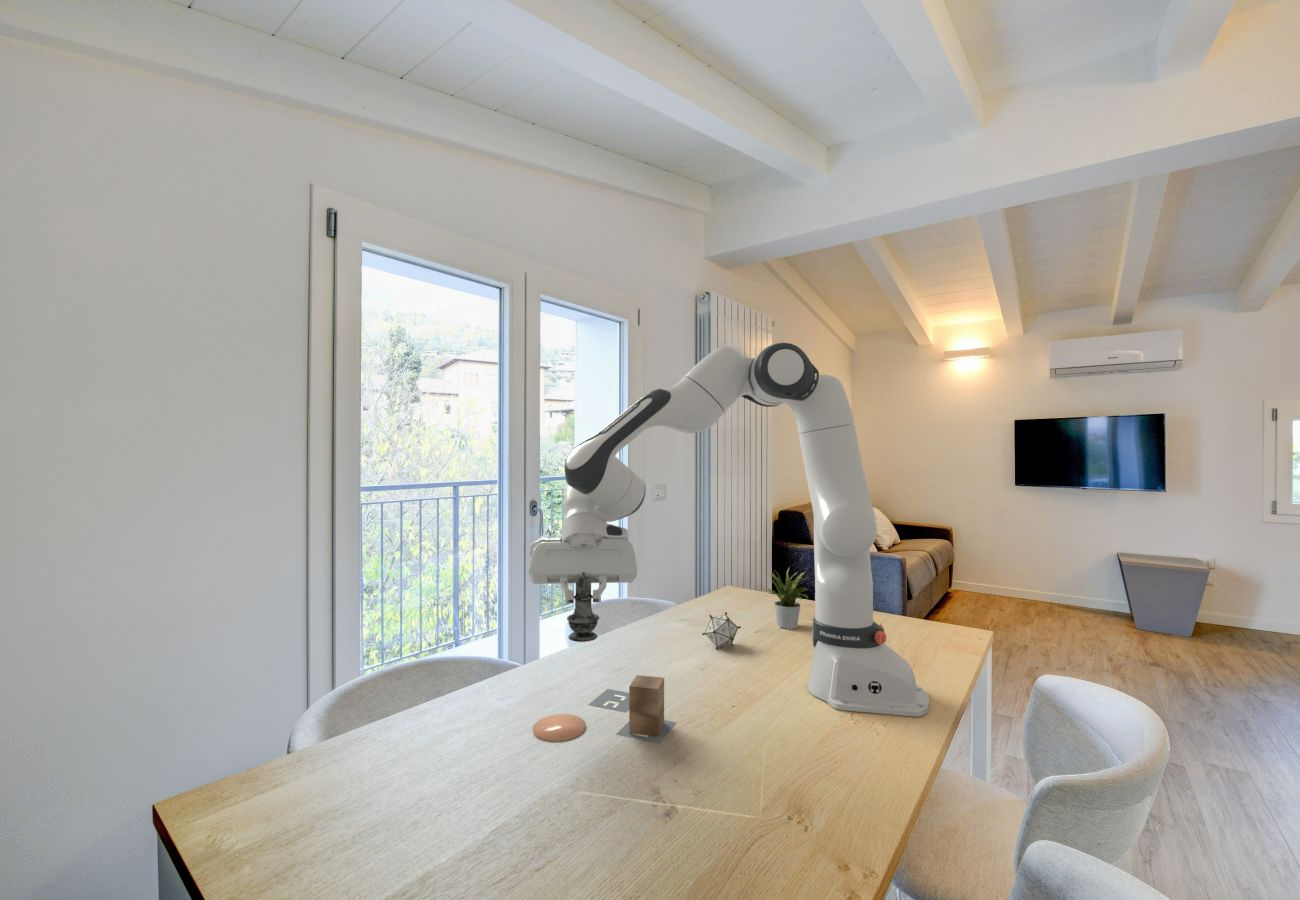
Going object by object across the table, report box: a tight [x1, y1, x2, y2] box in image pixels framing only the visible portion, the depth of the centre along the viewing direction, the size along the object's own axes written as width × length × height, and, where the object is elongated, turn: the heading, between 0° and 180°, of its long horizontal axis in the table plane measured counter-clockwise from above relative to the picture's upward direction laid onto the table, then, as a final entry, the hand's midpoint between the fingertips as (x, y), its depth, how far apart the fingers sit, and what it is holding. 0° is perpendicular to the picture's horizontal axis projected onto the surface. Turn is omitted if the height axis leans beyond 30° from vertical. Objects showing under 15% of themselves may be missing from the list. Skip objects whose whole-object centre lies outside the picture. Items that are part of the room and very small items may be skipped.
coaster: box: [532, 713, 586, 742], centre depth 100 cm, size 9×9×1 cm
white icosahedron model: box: [701, 611, 742, 650], centre depth 142 cm, size 9×8×10 cm
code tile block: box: [616, 719, 678, 745], centre depth 100 cm, size 8×8×1 cm
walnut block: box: [628, 674, 665, 737], centre depth 100 cm, size 5×5×8 cm
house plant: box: [760, 566, 810, 628], centre depth 158 cm, size 14×14×16 cm
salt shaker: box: [566, 572, 600, 643], centre depth 105 cm, size 6×6×12 cm
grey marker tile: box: [587, 688, 629, 713], centre depth 111 cm, size 8×8×1 cm
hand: (583, 601), depth 104 cm, fingers closed on salt shaker, 4 cm apart
